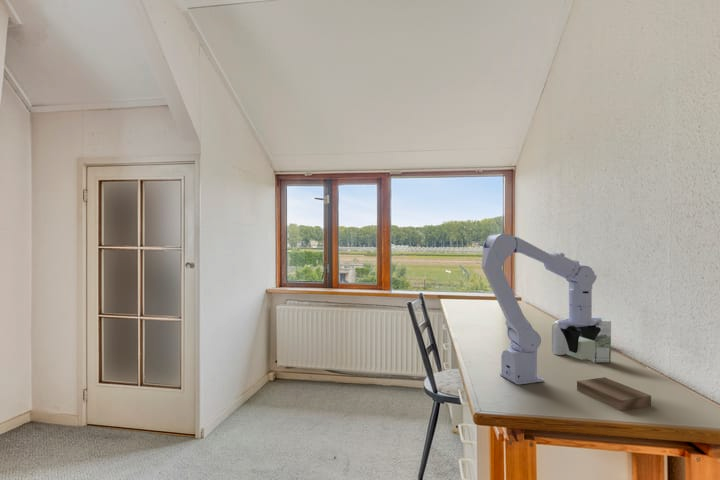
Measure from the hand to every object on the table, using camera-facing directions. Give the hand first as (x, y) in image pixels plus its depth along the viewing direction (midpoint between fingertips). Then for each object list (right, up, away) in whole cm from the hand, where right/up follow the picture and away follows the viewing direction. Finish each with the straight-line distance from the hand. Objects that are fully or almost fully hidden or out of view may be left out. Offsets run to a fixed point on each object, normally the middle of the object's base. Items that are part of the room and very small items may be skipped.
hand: (580, 350), depth 102 cm
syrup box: (+16, -9, +16) cm, 25 cm away
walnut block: (+1, -9, -12) cm, 15 cm away
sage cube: (0, -2, 0) cm, 2 cm away
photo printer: (+10, -9, +25) cm, 28 cm away
